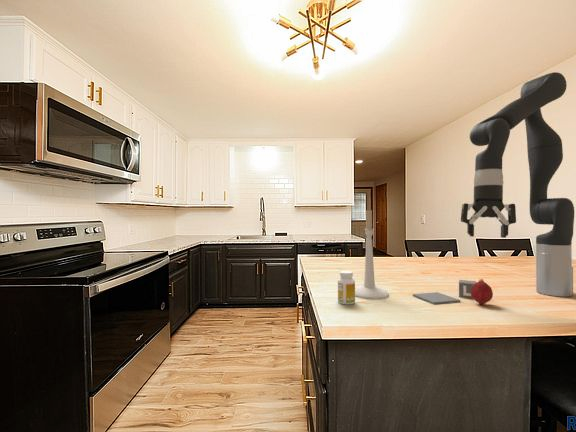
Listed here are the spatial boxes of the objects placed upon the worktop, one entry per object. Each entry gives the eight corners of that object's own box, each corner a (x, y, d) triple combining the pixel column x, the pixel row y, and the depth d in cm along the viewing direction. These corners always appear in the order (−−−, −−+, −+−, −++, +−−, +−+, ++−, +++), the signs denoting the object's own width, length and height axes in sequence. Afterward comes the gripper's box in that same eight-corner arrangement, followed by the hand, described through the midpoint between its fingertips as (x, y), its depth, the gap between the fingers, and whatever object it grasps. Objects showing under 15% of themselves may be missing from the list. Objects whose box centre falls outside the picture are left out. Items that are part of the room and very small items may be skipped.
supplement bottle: (356, 301, 96) (356, 271, 96) (353, 305, 91) (352, 274, 91) (340, 299, 98) (340, 269, 98) (335, 303, 93) (335, 272, 93)
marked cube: (459, 293, 104) (459, 279, 104) (476, 295, 101) (476, 281, 101) (458, 297, 99) (458, 282, 99) (476, 299, 97) (476, 284, 97)
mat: (437, 293, 104) (437, 292, 104) (460, 301, 94) (460, 300, 94) (412, 295, 101) (412, 294, 101) (433, 304, 92) (433, 302, 92)
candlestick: (370, 301, 95) (370, 208, 95) (343, 292, 106) (342, 209, 106) (396, 295, 102) (396, 208, 102) (368, 287, 113) (367, 209, 113)
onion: (496, 308, 88) (496, 281, 88) (475, 307, 89) (475, 280, 89) (487, 302, 93) (487, 277, 93) (467, 301, 94) (467, 276, 94)
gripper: (510, 186, 94) (509, 237, 94) (459, 186, 98) (458, 235, 98) (520, 183, 87) (519, 238, 86) (465, 183, 91) (464, 236, 91)
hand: (487, 236), depth 92 cm, fingers open, 8 cm apart
